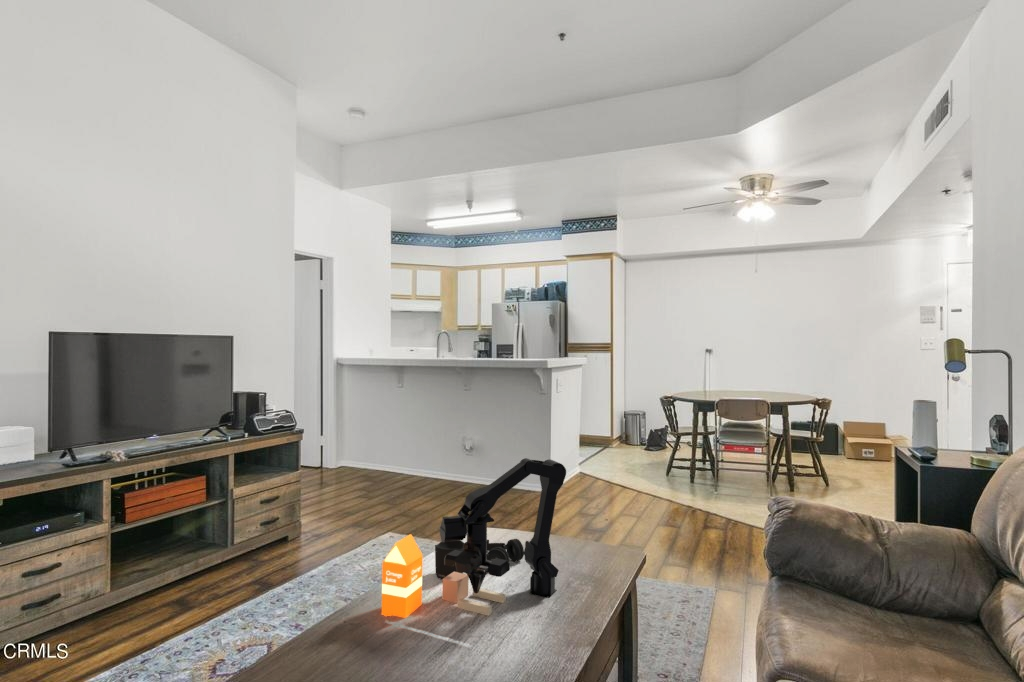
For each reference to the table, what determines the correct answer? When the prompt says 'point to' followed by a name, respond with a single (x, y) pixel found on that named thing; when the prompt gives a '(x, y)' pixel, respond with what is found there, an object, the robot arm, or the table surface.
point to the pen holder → (440, 554)
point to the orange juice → (402, 579)
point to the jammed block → (455, 587)
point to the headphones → (499, 551)
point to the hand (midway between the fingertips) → (476, 592)
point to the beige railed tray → (478, 606)
